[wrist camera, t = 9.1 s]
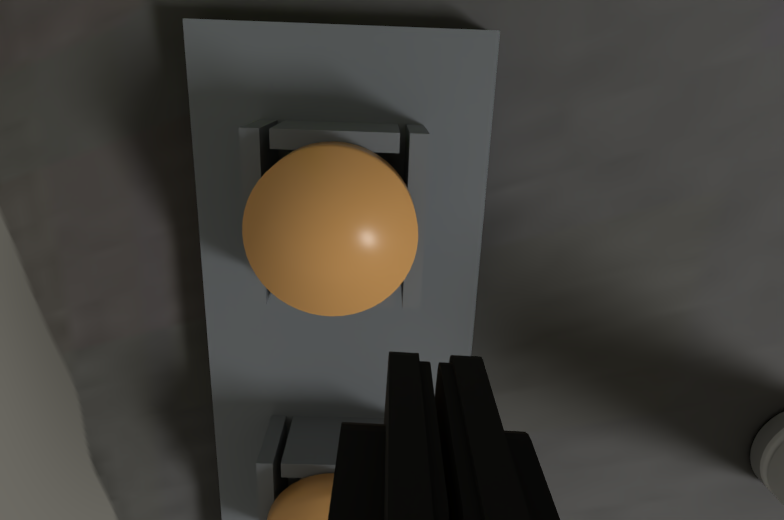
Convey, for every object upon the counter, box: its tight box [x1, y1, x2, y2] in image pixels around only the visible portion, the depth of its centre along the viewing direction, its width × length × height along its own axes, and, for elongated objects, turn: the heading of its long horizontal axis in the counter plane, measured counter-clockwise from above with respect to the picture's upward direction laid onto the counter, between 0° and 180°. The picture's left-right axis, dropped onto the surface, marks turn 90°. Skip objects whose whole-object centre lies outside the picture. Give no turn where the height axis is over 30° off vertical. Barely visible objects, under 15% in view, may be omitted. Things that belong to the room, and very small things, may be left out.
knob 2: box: [267, 473, 334, 520], centre depth 30 cm, size 7×7×6 cm
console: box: [183, 18, 500, 520], centre depth 29 cm, size 32×14×6 cm, turn 178°
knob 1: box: [242, 141, 418, 316], centre depth 24 cm, size 7×7×6 cm
